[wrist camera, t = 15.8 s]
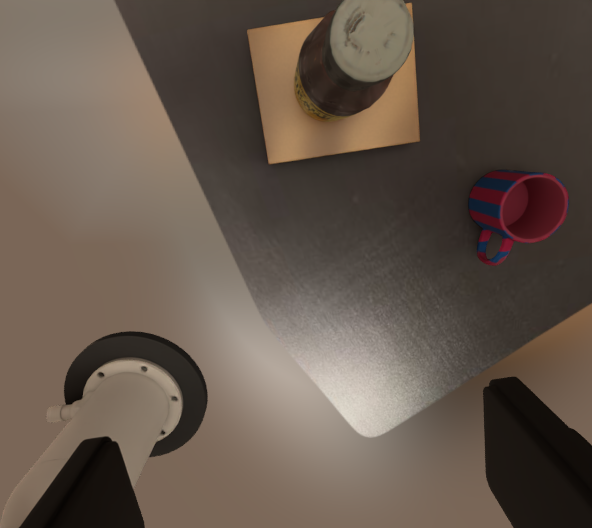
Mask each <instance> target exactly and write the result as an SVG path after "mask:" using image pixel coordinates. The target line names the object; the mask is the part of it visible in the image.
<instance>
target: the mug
mask: <svg viewBox="0 0 592 528" xmlns="http://www.w3.org/2000/svg"><path fill="white" fill-rule="evenodd" d="M468 205H469V212H470V215H471V217H472V219H473V220H474V221H475V222H476V223H477V224H478V225H479V226H481V227H482V228H483V230H482V232H481V235H480V238H479V241H478V245H477V256H478V258H479V259H480V260H481V261H482V262H483V263H485V264H488V265H492V266H496V265H499V264H500V263H502V262H503V261H504V260H505V259H506V257H507V256H508V254H509V252H510V250H511V247H512V245H513V242H514V241H518V242H523V243H533V242H538V241H541V240H543V239H545V238H547V237H549V236H550V235H552V234H553V233H554V232H555V231H556V230H557V229H558V228H559V227H560V226H561V224H562V223H563V221H564V219H565V217H566V215H567V212H568V206H569V197H568V193H567V190H566V188H565V186H564V185H563V183H562V182H561V181H560V180H559V179H557V178H556V177H554V176H552V175H549V174H545V173H536V172H524V171H512V170H497V171H493V172H490V173H488V174H486V175H485V176H483V177H482V178H481V179H480V180H479V181H478V182H477V183H476V184H475V186H474V187H473V189H472V191H471V193H470V197H469V203H468ZM492 232H494V233H497V234H499V235H502V236H503V238H502V245H501V248H500V250H499V252H498V253H497V255H496V256H495V257H494V258H492V259H489V260H488V259H487V257H486V253H485V252H486V246H487V243H488V240H489V238H490V236H491V234H492Z"/></svg>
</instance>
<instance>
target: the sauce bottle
mask: <svg viewBox="0 0 592 528" xmlns="http://www.w3.org/2000/svg"><path fill="white" fill-rule="evenodd" d="M413 36H414V29H413V21H412V18H411V15H410V13H409V11H408V9H407V7H406V5H405V2H404V1H403V0H343V1H342V2H341V3H340V4H339V6H338V7H337V9H336V11H331V12H329V13H328V14H327V15H326V16H325V17H324V18H323V19H322V20H321V22H320V23H319V24H318V25H317V26H316V27H315V28H314V29H313V30H312V32H311V33H310V34H309V35H308V36H307V38H306V39H305V41H304V42H303V45H302V47H301V50H300V53H299V58H298V62H297V67H296V72H295V78H294V91H295V95H296V99H297V101H298V103H299V105H300V107H301V108H302V110H303V111H304V112H305V113H306V114H307V115H309V116H310V117H312V118H314V119H316V120H319V121H323V122H332V121H336V120H340V119H344V118H347V117H350V116H353V115H355V114H357V113H359V112H361V111H363V110H365V109H367V108H369V107H371V106H372V105H373V104H374V103H375V102H376V101H377V100H378V99H379V98H380V97H381V96H382V95H383V94H384V92H385V91H386V89H387V88H388V85H389V83H390V82H391V79H392V77H393V75H394V74H395V73H396V72H397V71H398V70H399V69H400V68H401V67H402V65H403V64H404V63H405V61H406V59H407V58H408V56H409V53H410V51H411V49H412V43H413Z"/></svg>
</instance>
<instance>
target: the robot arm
mask: <svg viewBox="0 0 592 528" xmlns="http://www.w3.org/2000/svg"><path fill="white" fill-rule="evenodd" d="M483 395H484V396H483V397H484V398H483V399H484V429H485V430H484V431H485V463H486V478H487V481H488V484H489V487H490V489H491V491H492V493H493V494H494V496H495V498H496V499H497V501H498V503H499V504H500V506H501V508H502V509H503V511H504V512H505V514H506V516H507V518H508V519H509V521H510V522H511V524H512V526H513V527H514V528H592V445H591V444H590V443H589V442H587V440H585V439H584V438H583V437H582V436H581V435H580V434H579V433H578V432H576V431H575V430H574V429H571V428H569V427H568V426H567V425H566V424H565V423H564V422H563V421H562V420H561V419H560V418H559V417H558V416H557V415H556V414H554V413H553V412H552V411H551V410H550V409H549V408H548V407H547V406H546V405H545V404H544V403H543V402H542V401H541V400H540V399H539V398H538V397H537V396H536V395H535V394H534V393H533V392H532V391H531V390H530V389H529V388H528V387H526V385H524V384H523V383H522V382H521V381H520V380H519V379H518V378H517V377H507V378H501V379H494V380H491V381H490V383H489V387H485V388H484V390H483ZM182 410H183V397H182V392H181V390H180V387H179V385H178V383H177V382H176V380H175V379H174V377H173V376H172V375H171V374H170V373H169V372H168V371H167V370H165V369H164V368H162V367H161V366H159V365H158V364H156V363H153V362H151V361H149V360H145V359H142V358H134V357H126V358H119V359H114V360H111V361H109V362H107V363H105V364H103V365H102V366H100V367H99V368H98V369H97V370H96V371H95V372H94V373H93V374H92V375H91V377H90V378H89V379H88V381H87V383H86V385H85V388H84V392H83V398H82V400H78V401H75V402H73V404H71V405H59V406H52V407H50V408H49V409H48V411H47V414H46V417H47V421H48V422H51V423H53V422H60V421H65V420H69V419H71V421H70V422H69V423H68V424H67V425H65V427H64V429H63V430H62V431H61V433H60V434H59V435H58V436H57V437H56V439H55V440H54V441H53V442H52V444H51V445H50V446H49V447H48V448H47V449H46V451H45V452H44V453H43V454H42V456H41V457H40V458H39V459H38V460H37V462H36V463H35V464H34V465H33V466H32V468H31V469H30V470H29V471H28V473H27V474H26V475H25V476H24V477H23V479H22V480H21V481H20V483H19V484H18V485H17V486H16V488H15V489H14V490H13V492H12V494H11V495H10V497H9V499H8V501H7V503H6V506H5V508H4V511H3V514H2V517H1V521H0V528H145V527H144V521H143V517H142V514H141V511H140V508H139V506H138V502H137V500H136V496H135V493H134V487H135V485H136V483H137V481H138V479H139V477H140V475H141V472H142V470H143V468H144V466H145V464H146V462H147V460H148V458H149V455H150V453H151V451H152V449H153V447H154V445H155V443H156V441H159V440H161V439H163V438H164V437H166V436H167V435H169V434H170V433H171V432H172V431H173V430H174V428H175V427H176V425H177V424H178V422H179V419H180V417H181V414H182Z"/></svg>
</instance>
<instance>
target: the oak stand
mask: <svg viewBox="0 0 592 528" xmlns="http://www.w3.org/2000/svg"><path fill="white" fill-rule="evenodd" d="M405 5H406V7H407V9H408V11H409V13H410V15H411V18H412V21H413V16H412V3H407V4H405ZM323 18H324V17H322V18H316V19H310V20H304V21H298V22H292V23H286V24H279V25H273V26H267V27H261V28H255V29H249V30H247V33H248V40H249V46H250V52H251V58H252V64H253V70H254V77H255V83H256V89H257V95H258V101H259V107H260V114H261V120H262V126H263V132H264V138H265V144H266V151H267V157H268V163H269V164H276V163H282V162H289V161H295V160H302V159H308V158H315V157H321V156H328V155H334V154H341V153H347V152H354V151H360V150H367V149H373V148H380V147H387V146H393V145H400V144H406V143H413V142H419V141H420V135H419V118H418V101H417V84H416V67H415V50H414V36H413V43H412V49H411V51H410V53H409V56H408V58H407V59H406V61H405V63H404V64H403V65H402V67H401V68H400V69H399V70H398V71H397V72H396V73H395V74H394V75H393V77H392V79H391V82H390V83H389V85H388V88H387V89H386V91H385V92H384V94H383V95H382V96H381V97H380V98H379V99H378V100H377V101H376V102H375V103H374V104H373V105H372V106H371V107H369V108H367V109H365V110H363V111H361V112H359V113H357V114H355V115H353V116H350V117H347V118H344V119H340V120H336V121H332V122H323V121H319V120H316V119H314V118H312V117H310V116H309V115H307V114H306V113H305V112H304V111H303V110H302V108H301V107H300V105H299V103H298V101H297V99H296V95H295V91H294V78H295V72H296V67H297V62H298V58H299V53H300V50H301V47H302V45H303V42H304V41H305V39H306V38H307V36H308V35H309V34H310V33H311V32H312V30H313V29H314V28H315V27H316V26H317V25H318V24H319V23H320V22H321V20H322V19H323Z"/></svg>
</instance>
